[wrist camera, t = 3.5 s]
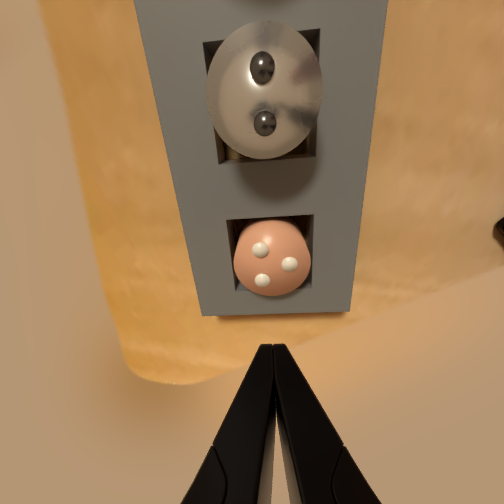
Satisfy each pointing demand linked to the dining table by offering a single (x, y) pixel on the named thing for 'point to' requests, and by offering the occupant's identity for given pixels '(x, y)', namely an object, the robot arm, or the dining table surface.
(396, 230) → the dining table surface
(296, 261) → the button three
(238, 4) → the grey flat block
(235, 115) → the button two
